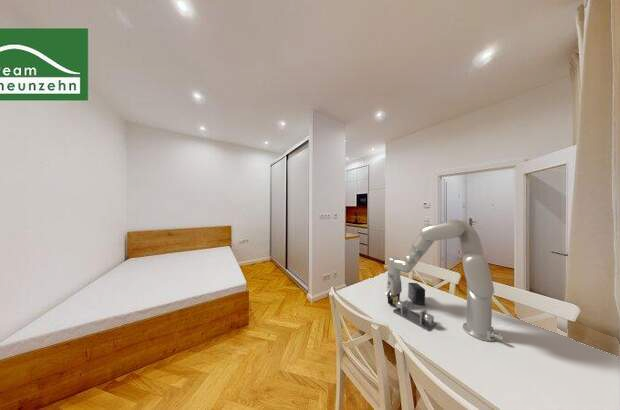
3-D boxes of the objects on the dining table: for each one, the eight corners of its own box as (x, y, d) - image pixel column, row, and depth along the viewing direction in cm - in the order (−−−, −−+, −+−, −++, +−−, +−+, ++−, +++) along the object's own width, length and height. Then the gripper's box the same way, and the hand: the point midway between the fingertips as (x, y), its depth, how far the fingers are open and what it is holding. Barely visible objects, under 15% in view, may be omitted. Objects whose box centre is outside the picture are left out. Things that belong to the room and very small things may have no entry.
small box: (425, 305, 123) (425, 289, 122) (415, 305, 123) (415, 289, 123) (416, 297, 133) (417, 282, 133) (407, 296, 133) (407, 282, 133)
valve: (399, 304, 123) (399, 294, 123) (395, 307, 120) (395, 296, 120) (392, 301, 127) (392, 291, 127) (387, 303, 124) (387, 293, 124)
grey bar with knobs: (436, 324, 103) (436, 311, 103) (428, 330, 98) (428, 317, 98) (401, 307, 120) (401, 296, 120) (393, 312, 115) (393, 300, 115)
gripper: (391, 280, 115) (391, 309, 116) (406, 274, 125) (406, 301, 125) (380, 276, 122) (380, 303, 122) (396, 271, 131) (396, 296, 131)
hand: (393, 302), depth 124 cm, fingers open, 7 cm apart
